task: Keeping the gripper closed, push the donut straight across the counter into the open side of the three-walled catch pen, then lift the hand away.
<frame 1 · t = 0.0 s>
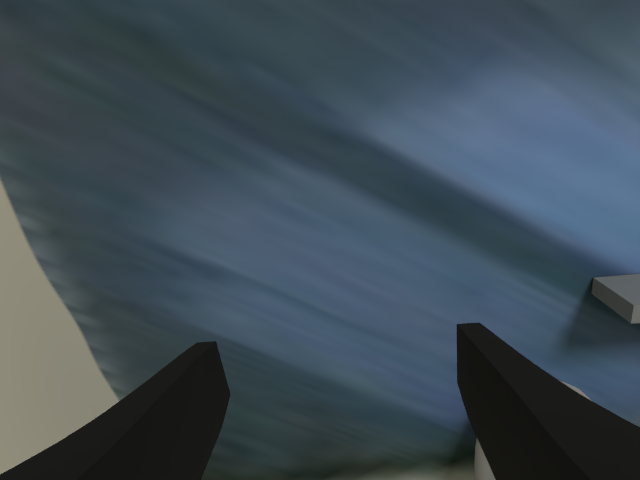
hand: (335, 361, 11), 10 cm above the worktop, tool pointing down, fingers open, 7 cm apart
donut: (501, 400, 23), on the worktop
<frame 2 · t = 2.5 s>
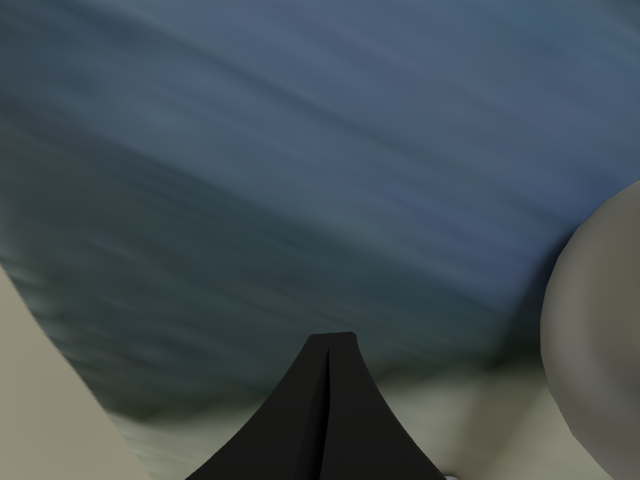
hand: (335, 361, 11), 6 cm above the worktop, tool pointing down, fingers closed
donut: (576, 256, 15), on the worktop
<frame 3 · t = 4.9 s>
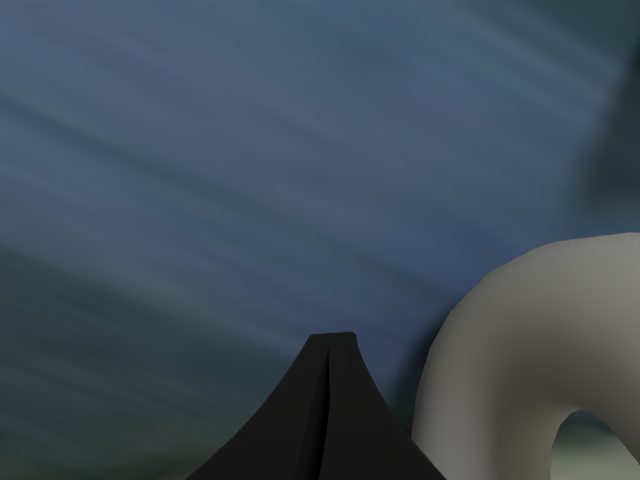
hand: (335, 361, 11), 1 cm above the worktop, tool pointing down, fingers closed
donut: (455, 335, 11), on the worktop
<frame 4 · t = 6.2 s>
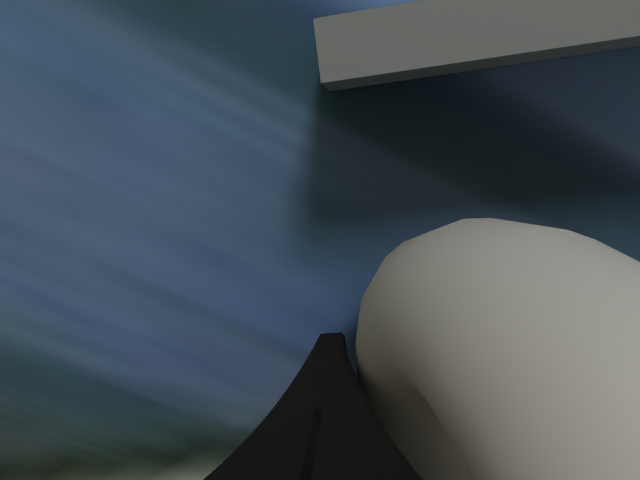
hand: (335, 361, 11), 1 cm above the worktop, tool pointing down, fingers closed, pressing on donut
donut: (389, 335, 11), on the worktop, touching gripper
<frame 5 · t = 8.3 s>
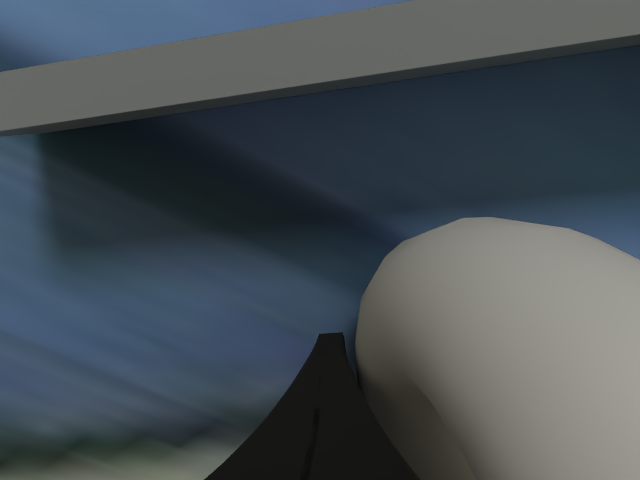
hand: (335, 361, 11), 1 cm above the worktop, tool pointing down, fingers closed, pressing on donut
catch pen: (404, 336, 11), on the worktop
donut: (388, 334, 11), on the worktop, touching gripper
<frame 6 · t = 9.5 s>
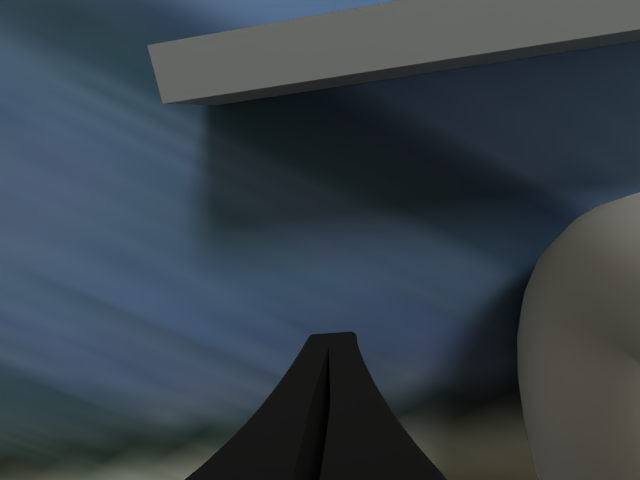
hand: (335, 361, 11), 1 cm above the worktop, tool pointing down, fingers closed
catch pen: (569, 318, 11), on the worktop
donut: (551, 307, 11), on the worktop
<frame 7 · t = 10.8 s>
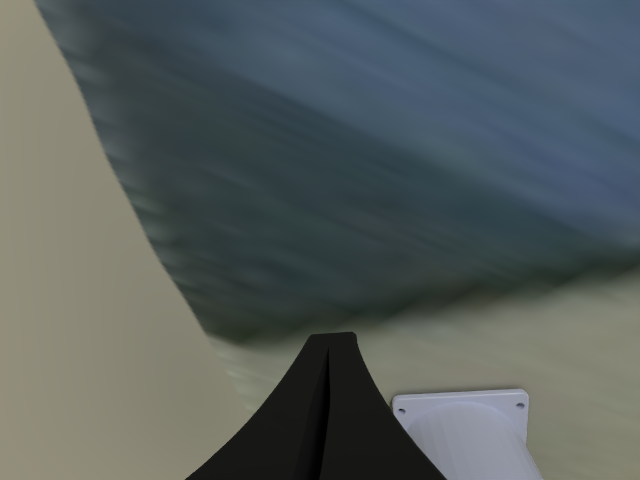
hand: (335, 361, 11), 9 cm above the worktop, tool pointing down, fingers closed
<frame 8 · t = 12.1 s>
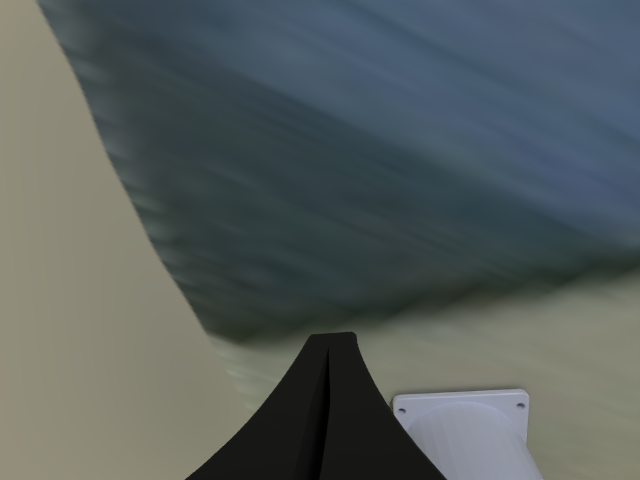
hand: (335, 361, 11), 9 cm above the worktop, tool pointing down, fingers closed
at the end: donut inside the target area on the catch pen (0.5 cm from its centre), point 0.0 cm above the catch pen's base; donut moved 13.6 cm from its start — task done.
